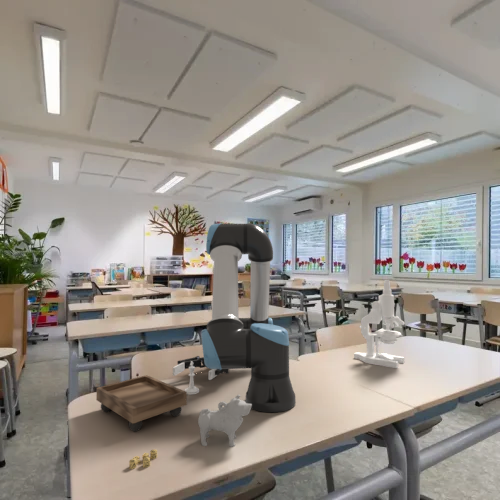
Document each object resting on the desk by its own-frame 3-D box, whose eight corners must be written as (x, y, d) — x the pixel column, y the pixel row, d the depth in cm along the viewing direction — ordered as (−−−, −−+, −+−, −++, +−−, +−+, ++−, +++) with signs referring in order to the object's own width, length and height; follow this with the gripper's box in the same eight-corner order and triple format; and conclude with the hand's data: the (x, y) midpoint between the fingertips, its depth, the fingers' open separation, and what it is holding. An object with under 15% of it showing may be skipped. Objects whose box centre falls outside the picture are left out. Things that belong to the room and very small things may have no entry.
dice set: (157, 458, 77) (157, 449, 77) (152, 471, 72) (152, 462, 72) (134, 458, 77) (134, 449, 77) (127, 472, 72) (127, 462, 72)
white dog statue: (251, 447, 80) (251, 400, 80) (196, 446, 81) (196, 400, 81) (252, 436, 85) (252, 392, 86) (200, 435, 86) (200, 391, 86)
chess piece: (201, 390, 117) (201, 360, 117) (194, 395, 112) (194, 363, 113) (188, 388, 119) (188, 358, 119) (181, 393, 114) (181, 362, 114)
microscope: (376, 369, 138) (374, 281, 139) (351, 357, 157) (350, 279, 158) (415, 366, 142) (413, 280, 143) (386, 354, 161) (384, 278, 162)
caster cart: (186, 415, 97) (186, 391, 97) (132, 436, 86) (132, 409, 86) (146, 395, 112) (146, 375, 113) (96, 410, 101) (96, 387, 101)
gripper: (248, 370, 131) (225, 389, 112) (190, 364, 140) (159, 380, 120) (248, 350, 132) (225, 365, 112) (190, 345, 140) (159, 358, 121)
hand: (191, 373), depth 116 cm, fingers open, 13 cm apart
